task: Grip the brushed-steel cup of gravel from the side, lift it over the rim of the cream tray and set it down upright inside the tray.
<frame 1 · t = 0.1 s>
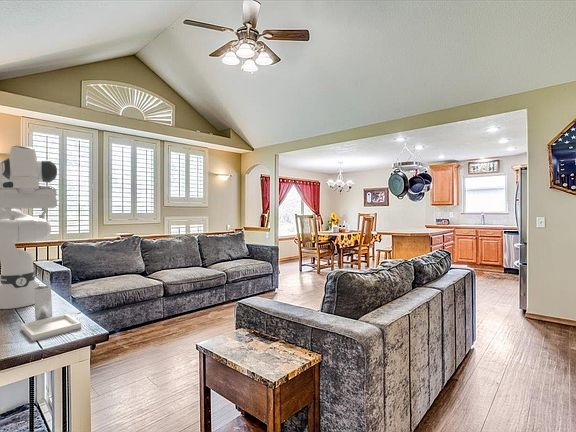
hand: (27, 219, 131), 39 cm above the table, fingers open, 8 cm apart
gravel cup: (44, 321, 124), on the table
cream tray: (51, 329, 116), on the table
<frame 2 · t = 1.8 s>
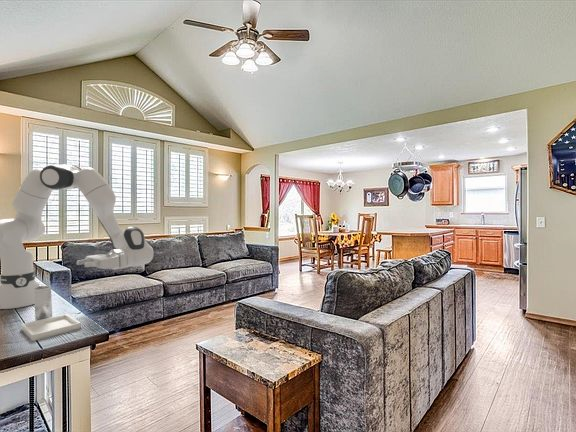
hand: (80, 263, 133), 20 cm above the table, fingers open, 8 cm apart
nothing on the table moved.
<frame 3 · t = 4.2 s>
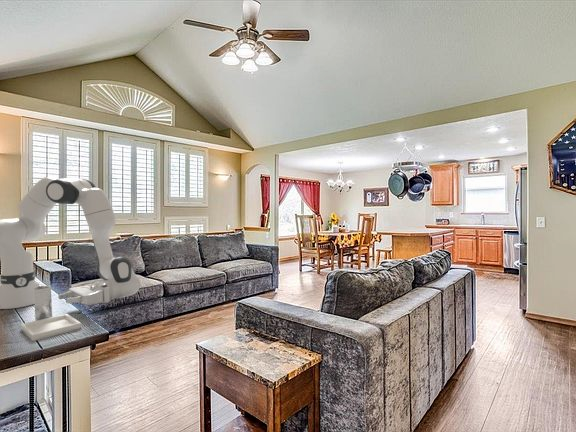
hand: (62, 299, 129), 7 cm above the table, fingers open, 8 cm apart
nothing on the table moved.
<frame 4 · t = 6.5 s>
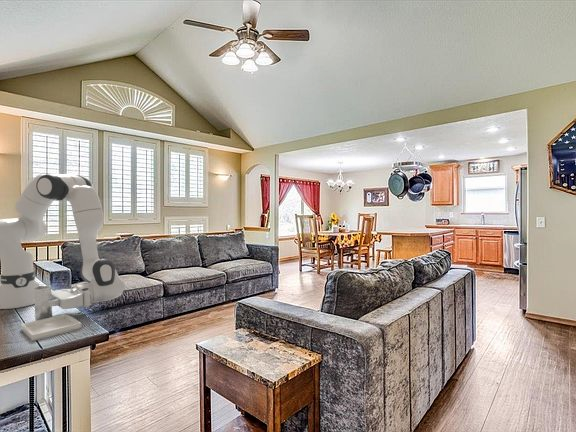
hand: (40, 303, 123), 7 cm above the table, fingers closed on gravel cup, 5 cm apart
gravel cup: (44, 321, 124), on the table, touching gripper
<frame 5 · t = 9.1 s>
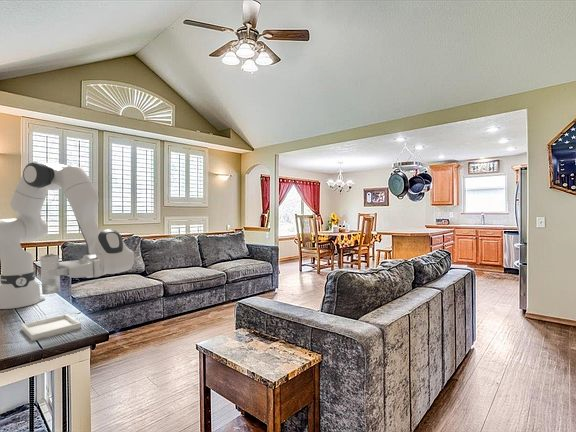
hand: (47, 272, 115), 20 cm above the table, fingers closed on gravel cup, 5 cm apart
gravel cup: (51, 292, 116), point 13 cm above the table, touching gripper
when the fingers open (9 cm above the table, at t = 12.1 s): gravel cup drops 1 cm, resting on cream tray.
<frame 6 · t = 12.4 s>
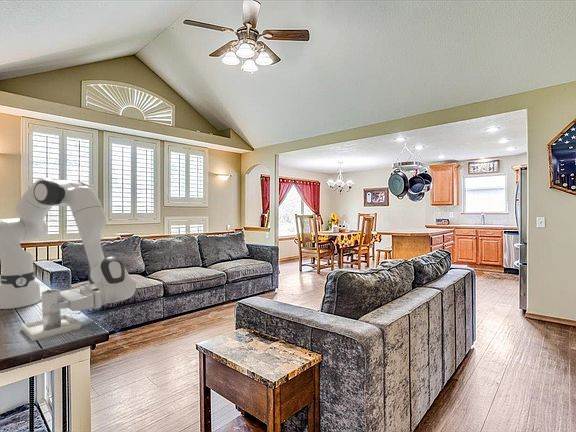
hand: (48, 304, 114), 9 cm above the table, fingers open, 8 cm apart
gravel cup: (52, 327, 115), point 1 cm above the table, touching cream tray
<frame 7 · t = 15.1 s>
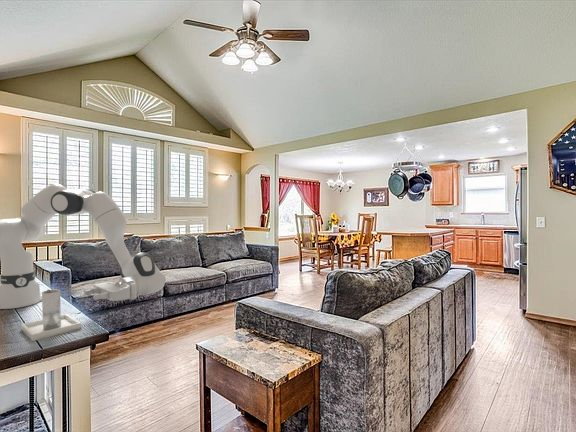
hand: (89, 295, 124), 10 cm above the table, fingers open, 8 cm apart
nothing on the table moved.
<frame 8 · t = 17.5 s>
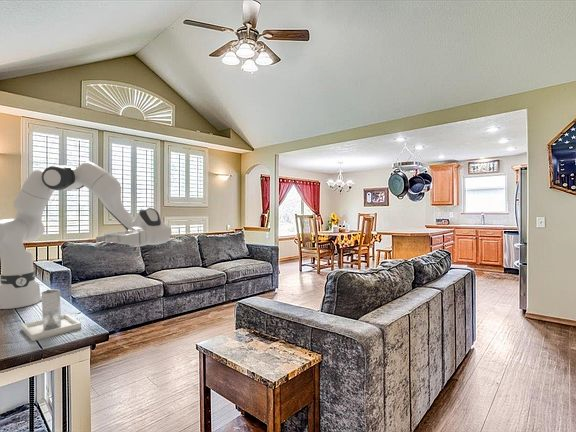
hand: (100, 239, 132), 30 cm above the table, fingers open, 8 cm apart
nothing on the table moved.
at the end: gravel cup inside the target area on the cream tray (1.0 cm from its centre), point 0.6 cm above the cream tray's base; gravel cup tilted 1°; the gripper is holding nothing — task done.
